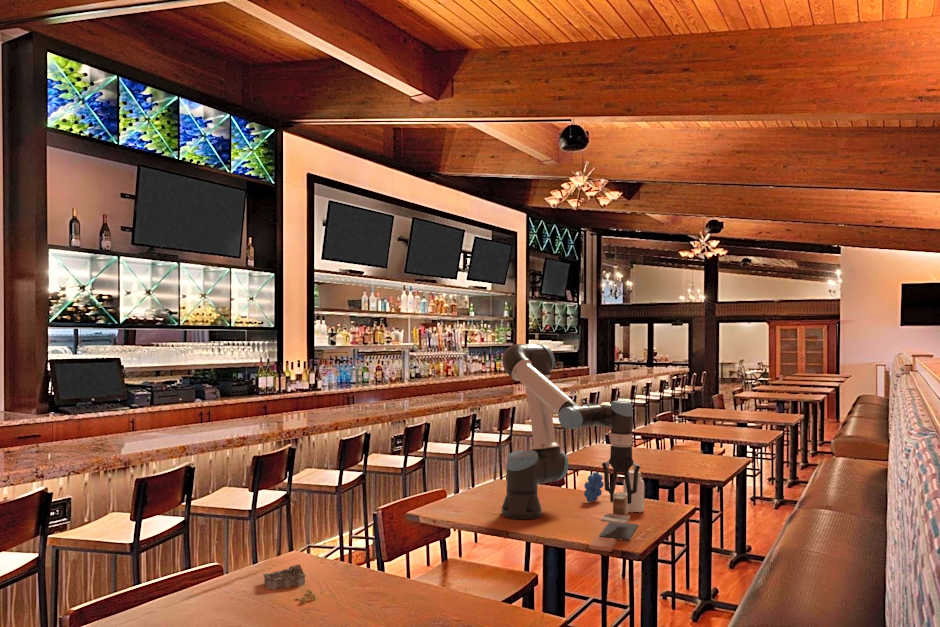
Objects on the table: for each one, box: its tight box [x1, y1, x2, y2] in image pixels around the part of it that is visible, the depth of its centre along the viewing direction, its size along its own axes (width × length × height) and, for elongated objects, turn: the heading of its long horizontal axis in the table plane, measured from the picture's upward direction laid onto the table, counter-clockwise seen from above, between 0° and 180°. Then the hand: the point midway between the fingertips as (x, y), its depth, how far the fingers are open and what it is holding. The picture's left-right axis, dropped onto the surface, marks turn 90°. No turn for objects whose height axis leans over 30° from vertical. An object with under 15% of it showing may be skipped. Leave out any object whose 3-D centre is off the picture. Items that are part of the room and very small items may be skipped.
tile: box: [588, 536, 617, 553], centre depth 243 cm, size 7×2×10 cm
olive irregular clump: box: [295, 589, 317, 605], centre depth 194 cm, size 5×5×2 cm
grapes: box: [583, 471, 605, 503], centre depth 304 cm, size 12×7×12 cm, turn 134°
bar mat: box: [598, 522, 639, 541], centre depth 260 cm, size 10×20×1 cm, turn 159°
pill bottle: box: [622, 470, 645, 513], centre depth 290 cm, size 8×8×15 cm
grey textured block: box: [263, 564, 307, 591], centre depth 205 cm, size 11×8×4 cm
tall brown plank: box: [600, 491, 631, 524], centre depth 259 cm, size 22×8×6 cm, turn 159°
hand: (620, 511), depth 263 cm, fingers closed on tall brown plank, 3 cm apart
